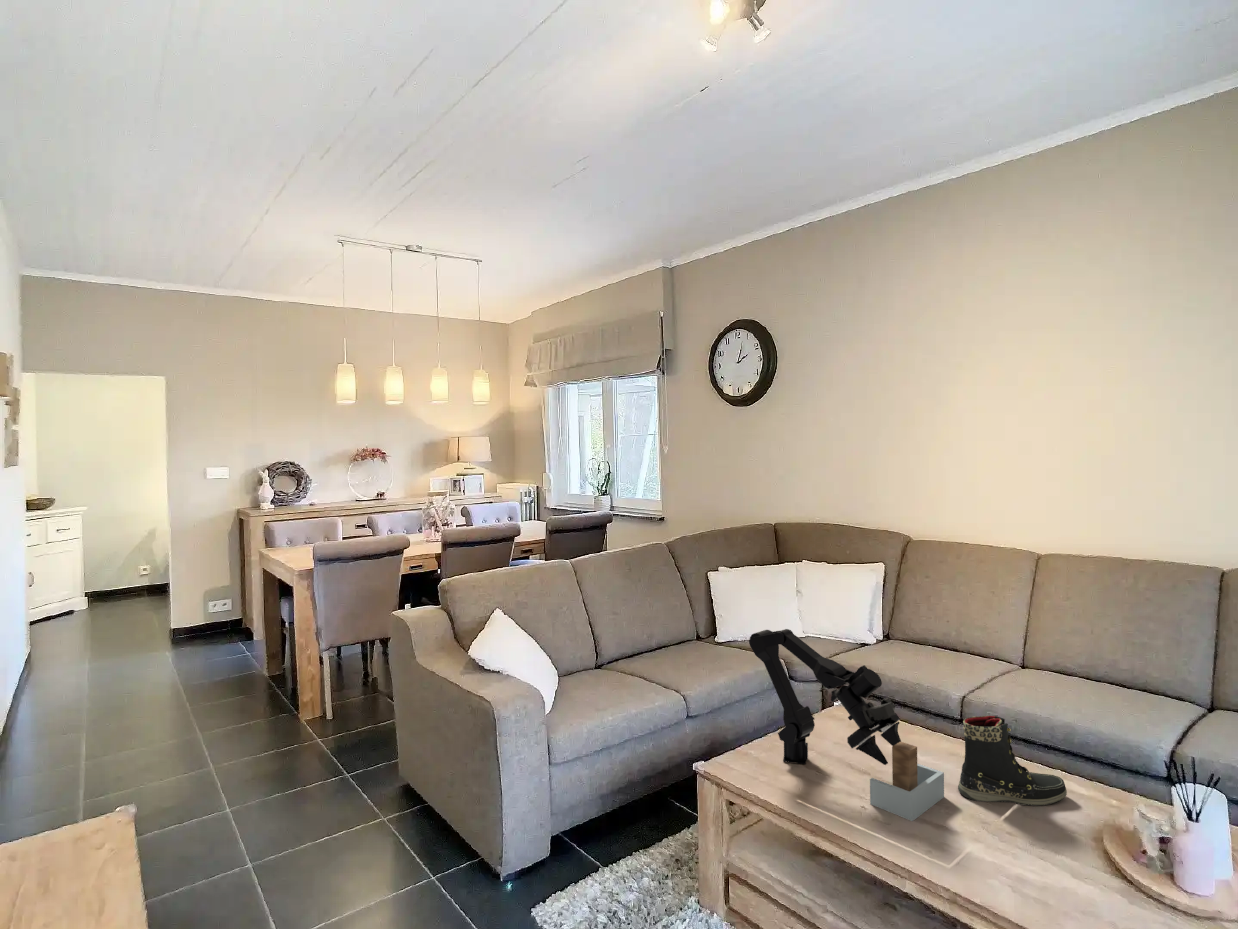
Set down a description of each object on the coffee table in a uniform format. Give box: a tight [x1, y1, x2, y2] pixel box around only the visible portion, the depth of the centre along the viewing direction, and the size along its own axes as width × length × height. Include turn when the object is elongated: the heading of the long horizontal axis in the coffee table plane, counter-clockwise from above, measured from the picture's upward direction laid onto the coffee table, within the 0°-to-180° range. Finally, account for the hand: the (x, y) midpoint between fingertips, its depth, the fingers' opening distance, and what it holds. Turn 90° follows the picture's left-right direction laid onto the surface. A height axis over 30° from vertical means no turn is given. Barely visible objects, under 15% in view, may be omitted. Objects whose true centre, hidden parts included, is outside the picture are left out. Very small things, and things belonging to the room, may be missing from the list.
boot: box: [957, 715, 1068, 807], centre depth 182 cm, size 12×27×20 cm, turn 102°
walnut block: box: [891, 741, 918, 792], centre depth 181 cm, size 4×4×14 cm
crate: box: [869, 762, 945, 822], centre depth 180 cm, size 11×17×7 cm, turn 131°
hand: (895, 758), depth 182 cm, fingers open, 9 cm apart
